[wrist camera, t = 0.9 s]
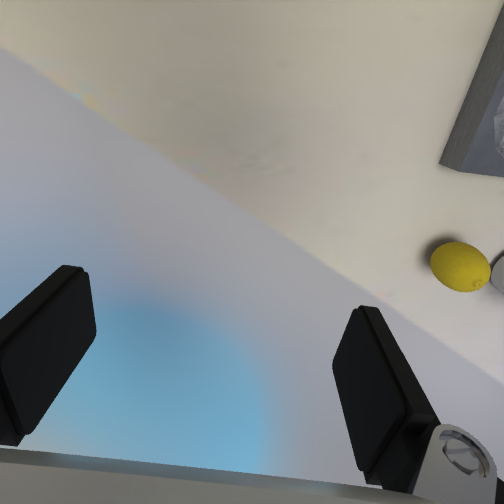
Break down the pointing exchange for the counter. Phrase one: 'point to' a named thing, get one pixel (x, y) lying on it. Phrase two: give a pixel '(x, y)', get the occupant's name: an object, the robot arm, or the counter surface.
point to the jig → (481, 115)
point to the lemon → (460, 267)
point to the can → (498, 275)
